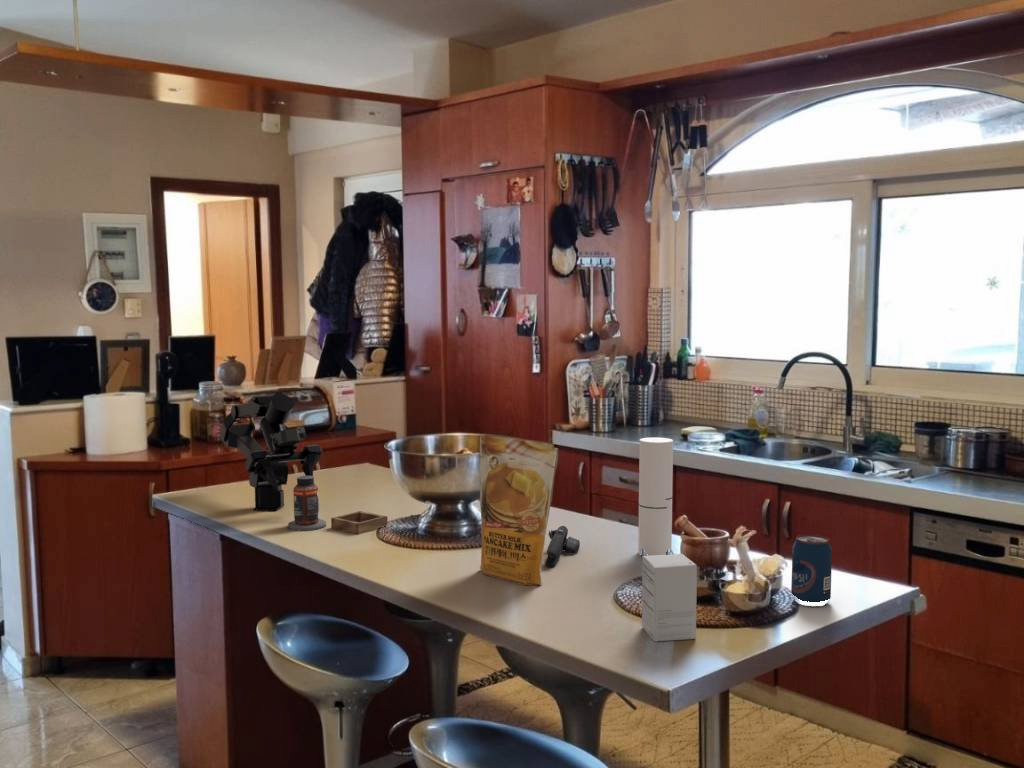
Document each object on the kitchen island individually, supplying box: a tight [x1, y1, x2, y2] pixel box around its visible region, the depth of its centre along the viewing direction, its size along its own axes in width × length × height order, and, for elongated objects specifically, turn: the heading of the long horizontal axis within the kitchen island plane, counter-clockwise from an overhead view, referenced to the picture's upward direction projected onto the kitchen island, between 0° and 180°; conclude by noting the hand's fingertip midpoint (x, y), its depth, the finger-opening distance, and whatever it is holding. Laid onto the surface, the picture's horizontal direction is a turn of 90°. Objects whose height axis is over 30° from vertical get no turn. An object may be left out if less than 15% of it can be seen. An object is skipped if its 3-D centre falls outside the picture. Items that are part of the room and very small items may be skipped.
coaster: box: [287, 518, 327, 532], centre depth 239 cm, size 9×9×1 cm
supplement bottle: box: [292, 475, 320, 525], centre depth 238 cm, size 6×6×11 cm
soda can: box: [790, 534, 833, 602], centre depth 180 cm, size 7×7×12 cm
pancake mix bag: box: [478, 434, 560, 586], centre depth 196 cm, size 7×19×28 cm, turn 48°
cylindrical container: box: [637, 437, 674, 556], centre depth 213 cm, size 7×7×25 cm
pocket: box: [330, 510, 389, 535], centre depth 238 cm, size 10×10×2 cm
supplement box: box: [641, 553, 698, 643], centre depth 164 cm, size 7×7×13 cm
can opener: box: [544, 525, 581, 568], centre depth 211 cm, size 18×7×6 cm, turn 164°
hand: (294, 485), depth 244 cm, fingers open, 9 cm apart
